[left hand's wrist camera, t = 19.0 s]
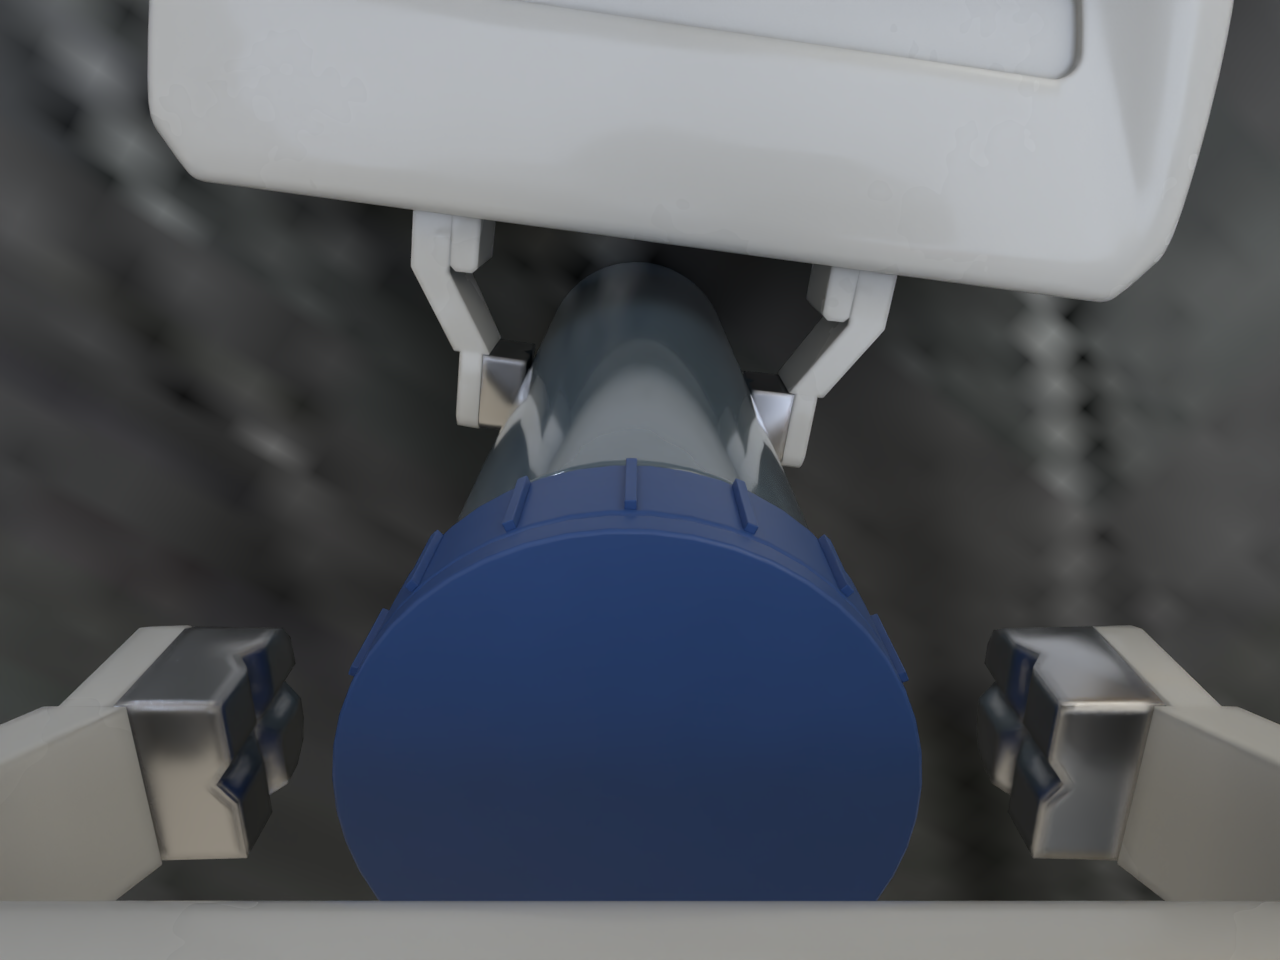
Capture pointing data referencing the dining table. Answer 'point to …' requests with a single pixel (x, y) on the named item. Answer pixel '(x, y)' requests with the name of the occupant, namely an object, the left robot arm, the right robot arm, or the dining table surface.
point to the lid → (627, 706)
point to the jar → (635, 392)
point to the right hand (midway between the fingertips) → (632, 440)
